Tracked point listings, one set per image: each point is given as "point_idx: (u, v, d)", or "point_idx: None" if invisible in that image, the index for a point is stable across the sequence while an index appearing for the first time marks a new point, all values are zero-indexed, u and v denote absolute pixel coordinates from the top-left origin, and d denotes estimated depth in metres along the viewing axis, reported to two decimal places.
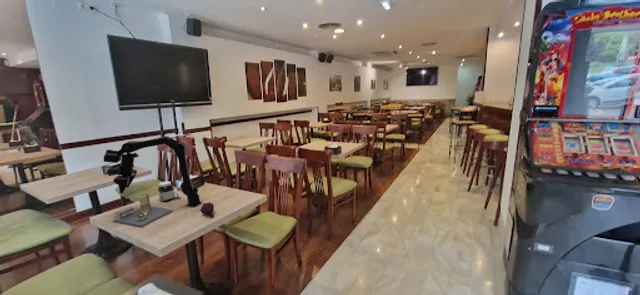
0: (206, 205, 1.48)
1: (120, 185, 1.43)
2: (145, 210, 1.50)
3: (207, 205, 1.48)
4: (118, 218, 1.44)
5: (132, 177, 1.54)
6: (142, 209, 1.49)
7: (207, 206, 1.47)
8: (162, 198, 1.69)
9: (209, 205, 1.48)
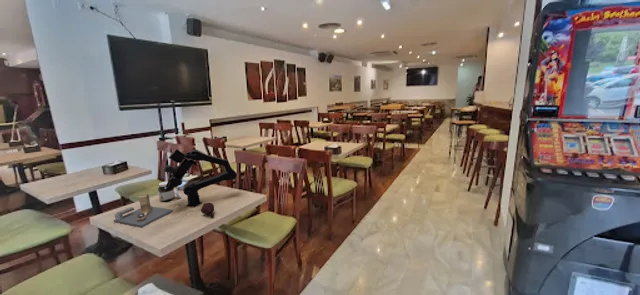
0: (206, 205, 1.48)
1: (171, 184, 1.51)
2: (145, 210, 1.50)
3: (207, 205, 1.47)
4: (118, 218, 1.44)
5: None
6: (142, 209, 1.49)
7: (207, 206, 1.47)
8: (162, 198, 1.69)
9: (209, 205, 1.48)
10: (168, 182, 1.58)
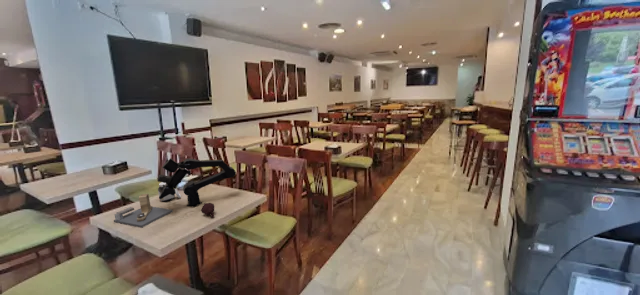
0: (207, 205, 1.47)
1: (164, 192, 1.53)
2: (145, 210, 1.50)
3: (208, 205, 1.47)
4: (118, 218, 1.44)
5: None
6: (142, 209, 1.49)
7: (208, 206, 1.47)
8: (162, 198, 1.69)
9: (210, 205, 1.48)
10: None
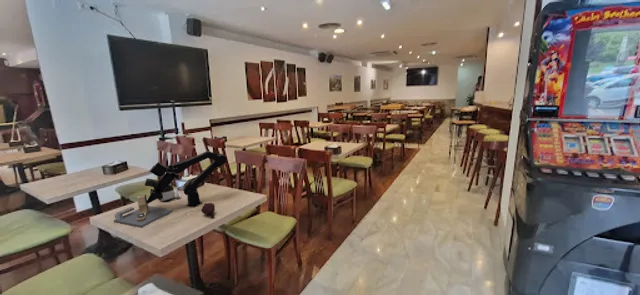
0: (207, 205, 1.47)
1: (151, 196, 1.50)
2: (143, 210, 1.49)
3: (208, 206, 1.47)
4: (118, 218, 1.44)
5: None
6: (140, 209, 1.49)
7: (208, 206, 1.47)
8: (162, 198, 1.69)
9: (210, 205, 1.48)
10: (149, 198, 1.52)
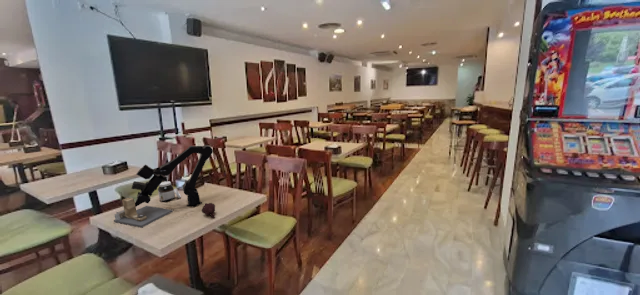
0: (207, 205, 1.47)
1: (139, 199, 1.47)
2: (133, 213, 1.46)
3: (208, 206, 1.47)
4: (118, 218, 1.44)
5: None
6: (131, 213, 1.45)
7: (208, 206, 1.47)
8: (162, 198, 1.69)
9: (210, 205, 1.48)
10: None
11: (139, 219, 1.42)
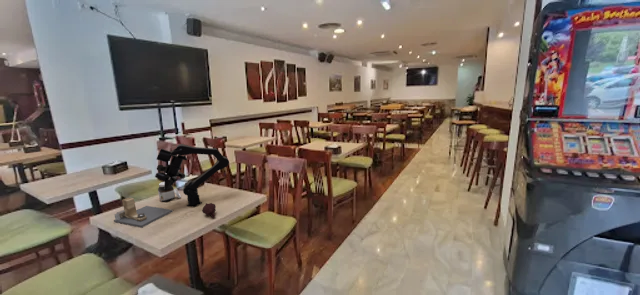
0: (208, 205, 1.47)
1: (166, 181, 1.54)
2: (133, 213, 1.46)
3: (209, 206, 1.47)
4: (118, 218, 1.44)
5: (173, 180, 1.56)
6: (131, 213, 1.45)
7: (209, 207, 1.47)
8: (162, 198, 1.69)
9: (211, 206, 1.47)
10: None
11: (139, 219, 1.42)
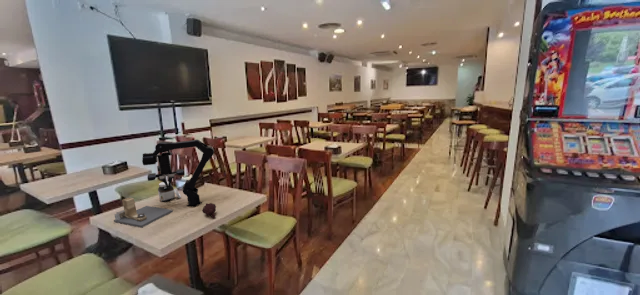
0: (208, 206, 1.47)
1: None
2: (133, 213, 1.46)
3: (209, 206, 1.47)
4: (118, 218, 1.44)
5: (168, 178, 1.55)
6: (131, 213, 1.45)
7: (209, 207, 1.46)
8: (162, 198, 1.69)
9: (211, 206, 1.47)
10: None
11: (139, 219, 1.42)
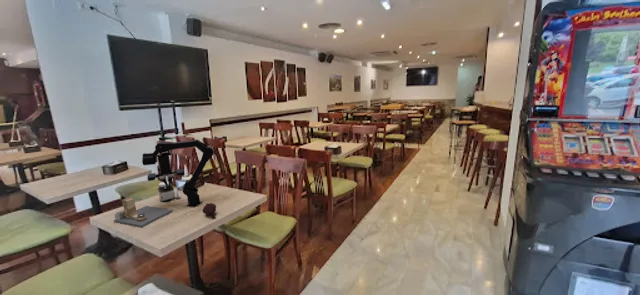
0: (208, 206, 1.47)
1: None
2: (133, 213, 1.46)
3: (209, 206, 1.47)
4: (118, 218, 1.44)
5: (168, 178, 1.55)
6: (131, 213, 1.45)
7: (209, 207, 1.46)
8: (162, 198, 1.69)
9: (211, 206, 1.47)
10: None
11: (139, 219, 1.42)
